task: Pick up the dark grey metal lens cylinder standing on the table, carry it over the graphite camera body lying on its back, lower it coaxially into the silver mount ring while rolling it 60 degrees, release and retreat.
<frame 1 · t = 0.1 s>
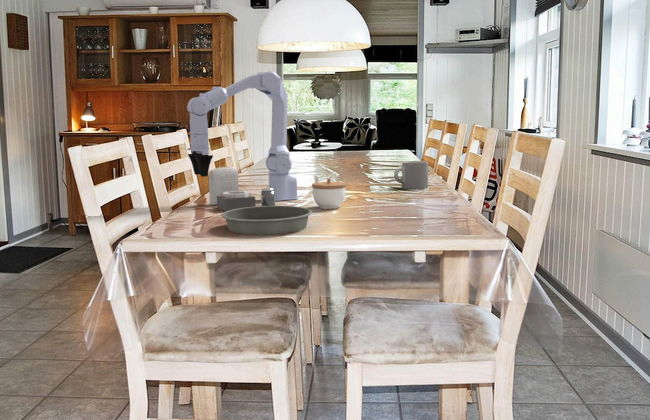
hand: (201, 175, 236), 10 cm above the table, fingers open, 7 cm apart
coffee mug: (410, 188, 276), on the table
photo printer: (224, 204, 241), on the table
lidded jar: (329, 208, 229), on the table
camera body: (236, 208, 229), on the table
cake pan: (267, 228, 195), on the table
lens: (268, 206, 234), on the table
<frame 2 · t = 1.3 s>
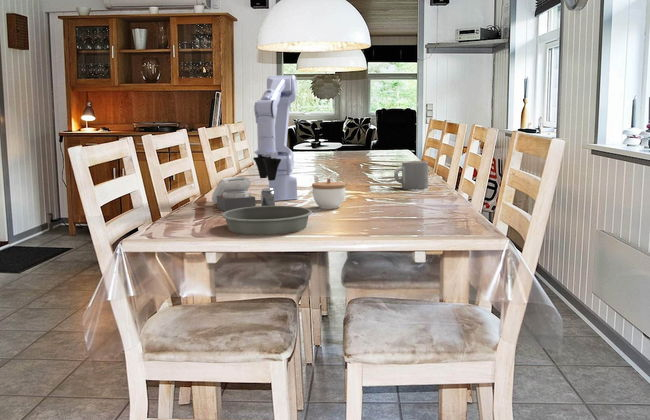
hand: (267, 179, 232), 9 cm above the table, fingers open, 7 cm apart
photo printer: (225, 199, 240), point 2 cm above the table, touching camera body
everything else where it was.
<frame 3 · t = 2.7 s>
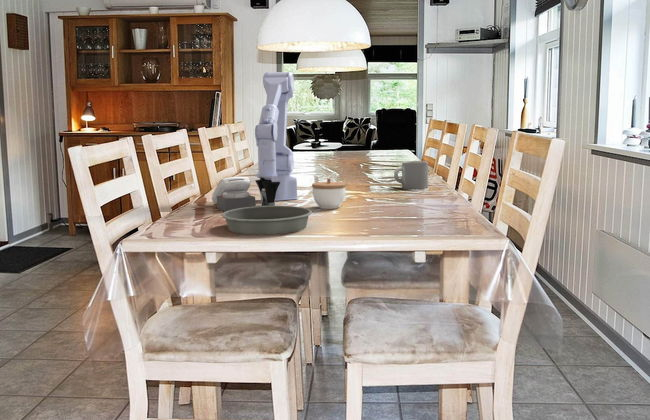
hand: (268, 201, 234), 1 cm above the table, fingers closed on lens, 4 cm apart
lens: (268, 206, 234), on the table, touching gripper
everything else where it was.
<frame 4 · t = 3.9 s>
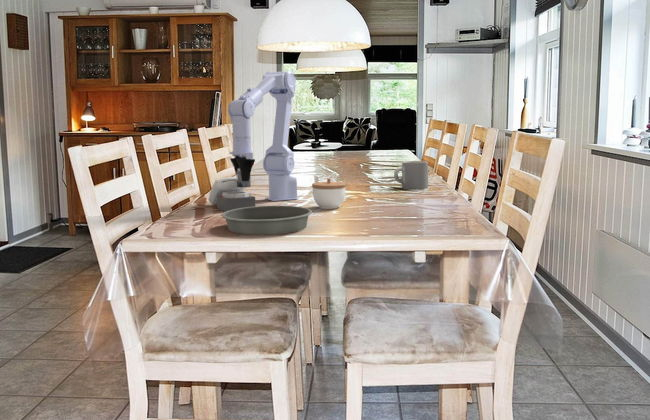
hand: (243, 180, 229), 9 cm above the table, fingers closed on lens, 4 cm apart
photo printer: (222, 199, 240), point 2 cm above the table
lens: (243, 186, 229), point 7 cm above the table, touching gripper
everything else where it was.
when the fingers open (6 cm above the table, at t = 5.4 s): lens stays where it is, resting on camera body.
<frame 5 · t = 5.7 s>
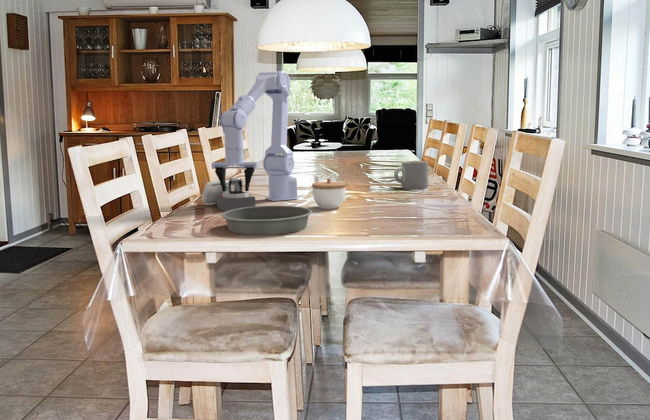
hand: (235, 191, 228), 6 cm above the table, fingers open, 7 cm apart
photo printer: (216, 198, 241), point 2 cm above the table, touching gripper
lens: (235, 196, 229), point 4 cm above the table, touching camera body
everything else where it was.
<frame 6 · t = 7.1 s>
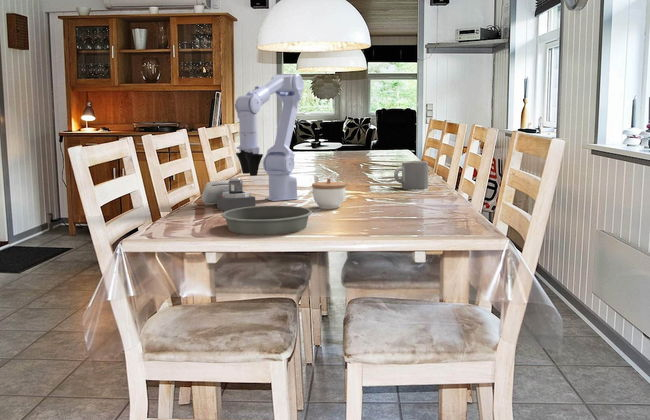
hand: (249, 174, 233), 10 cm above the table, fingers open, 7 cm apart
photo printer: (216, 198, 241), point 2 cm above the table, touching camera body
everything else where it was.
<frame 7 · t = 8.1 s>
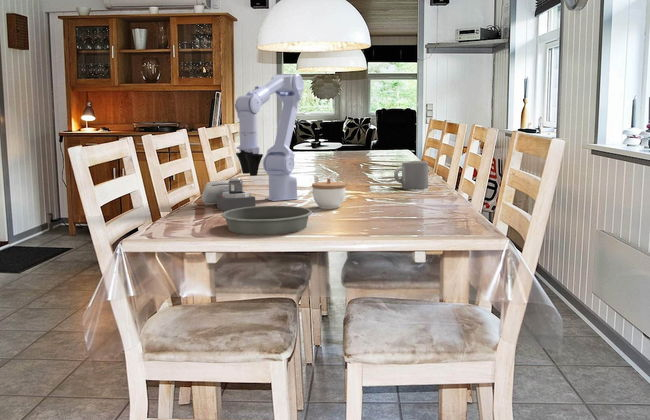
hand: (249, 174, 233), 10 cm above the table, fingers open, 7 cm apart
nothing on the table moved.
at the end: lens 0.2 cm off-centre on the camera body, point 4.0 cm above the camera body's base; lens tilted 0°; the gripper is holding nothing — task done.
